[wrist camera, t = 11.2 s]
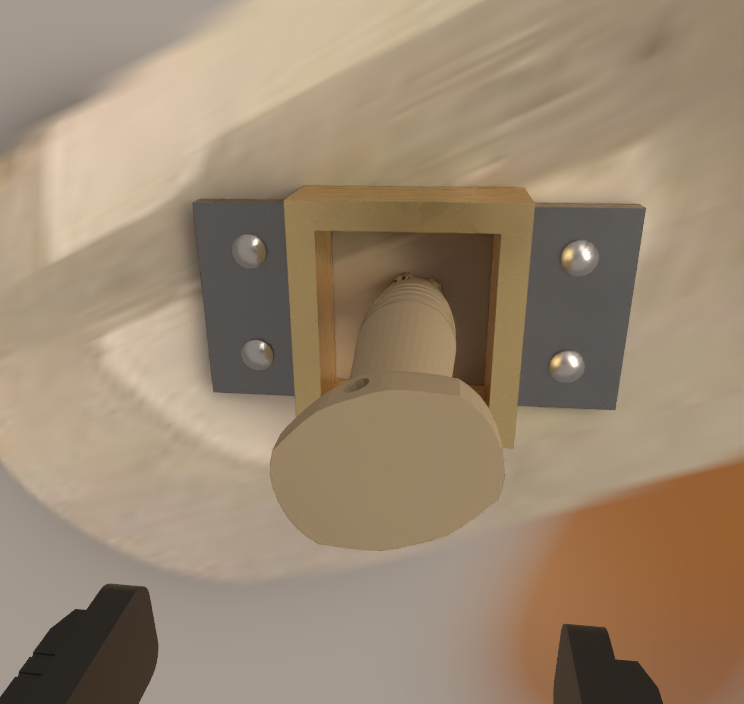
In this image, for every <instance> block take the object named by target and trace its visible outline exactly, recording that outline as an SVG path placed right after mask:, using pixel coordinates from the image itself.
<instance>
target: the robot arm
mask: <svg viewBox="0 0 744 704" xmlns="http://www.w3.org/2000/svg"><path fill="white" fill-rule="evenodd" d="M157 658H158V639H157V634H156V629H155V623H154V617H153V612H152V606H151V601H150V595H149V592H148V590H147V588H146V587H143V586H130V585H119V584H106V585H105V586H103V587H102V589H101V590H100V591H99V593H98V594H97V595H96V597H95V598H94V600H93V601H92V603H91V604H90V605H89V607H88V608H87V610H79V609H75V610H74V611H72V612H71V613H70V614H69V615H67V616H66V617H65V618H63V619H62V620H61V621H60V622H58V623H57V624H56V625H55V626H53V627H52V628H51V629H50V630H49V632H48V633H47V634H46V635H45V637H44V638H43V640H42V641H41V642H40V644H39V645H38V646H37V648H36V649H35V651H34V652H33V656H32V657H29V659H28V660H27V661H26V663H25V664H24V666H23V667H22V668H21V670H20V671H19V675H18V677H15V678H14V679H13V680H12V682H11V683H10V685H9V686H8V687H7V689H6V690H5V691H4V693H3V694H2V695H1V697H0V704H139V702H140V700H141V698H142V696H143V694H144V692H145V690H146V688H147V686H148V684H149V682H150V680H151V678H152V676H153V673H154V670H155V667H156V663H157ZM553 697H554V698H553V700H554V704H663V702H662V699H661V695H660V692H659V689H658V687H657V686H656V685H655V683H654V682H653V681H652V679H651V678H650V677H649V676H648V674H647V673H646V672H645V670H644V669H643V668H642V667H641V665H640V664H639V663H638V662H637V661H626V660H615V656H614V653H613V649H612V645H611V642H610V638H609V634H608V632H607V630H606V628H605V627H595V626H583V625H572V624H563V626H562V630H561V636H560V643H559V650H558V658H557V665H556V672H555V680H554V692H553Z"/></svg>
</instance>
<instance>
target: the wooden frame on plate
mask: <svg viewBox="0 0 744 704" xmlns="http://www.w3.org/2000/svg"><path fill="white" fill-rule="evenodd" d="M193 211H194V220H195V229H196V238H197V247H198V256H199V265H200V275H201V284H202V293H203V302H204V311H205V320H206V329H207V338H208V347H209V356H210V365H211V374H212V384H213V392H221V393H243V394H266V395H288V396H295V406H296V417H297V416H298V415H300V414H301V413H302V412H303V411H304V410H305V409H306V408H307V407H308V406H309V405H311V404H312V403H313V402H314V401H315V400H317V399H318V398H319V397H321V396H322V395H323V394H325V393H326V392H328V391H330V390H332V389H333V388H335V387H337V386H339V385H340V384H342V383H344V382H346V381H348V380H343V379H336V362H335V329H334V296H333V263H332V231H366V232H424V233H482V234H494V241H493V256H492V271H491V287H490V302H489V318H488V333H487V348H486V364H485V379H484V385H469V386H470V387H471V388H472V389H473V390H474V391H475V392H476V393H477V394H479V395H480V397H481V398H482V399H483V401H484V402H485V404H486V405H487V407H488V408H489V410H490V412H491V414H492V416H493V418H494V421H495V423H496V425H497V428H498V432H499V436H500V440H501V444H502V448H510V449H514V438H515V427H516V415H517V406H535V407H557V408H580V409H602V410H615V408H616V401H617V395H618V388H619V382H620V375H621V369H622V362H623V355H624V349H625V342H626V336H627V329H628V323H629V316H630V309H631V303H632V296H633V290H634V283H635V276H636V270H637V263H638V257H639V250H640V244H641V237H642V230H643V224H644V217H645V211H646V208H645V207H643V206H642V205H640V204H582V203H534V201H533V200H532V198H531V197H530V195H529V194H528V192H527V191H526V189H525V188H484V187H384V186H303V187H302V188H300V189H299V190H298V191H296V192H295V193H293V194H292V195H291V196H289V197H288V198H286V199H285V200H257V199H199V200H197V201H195V202H193Z"/></svg>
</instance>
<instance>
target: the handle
mask: <svg viewBox="0 0 744 704" xmlns="http://www.w3.org/2000/svg"><path fill="white" fill-rule="evenodd" d="M441 291H442V288H441V285H440V283H439V282H438V281H437V280H436V279H434V278H430V279H423V278H418V277H415V276H413V275H411V274H410V273H409V272H407V273H402V274H400V275H398V276H397V277H395V278H394V280H393V283H392V284H391V285H390V286H388V287H387V288H386V289H385V290H384V291H383V292H381V294H380V295H379V296H378V297H377V298H376V300H375V301H374V302H373V304H372V306H371V307H370V309H369V311H368V313H367V314H366V316H365V318H364V321H363V324H362V326H361V329H360V332H359V335H358V338H357V344H356V349H355V355H354V360H353V366H352V371H351V376H350V380H348V381H346V382H344V383H342V384H340V385H339V386H337V387H335V388H333V389H332V390H330V391H328V392H326V393H325V394H323V395H322V396H321V397H319V398H318V399H317V400H315V401H314V402H313V403H312V404H311V405H309V406H308V407H307V408H306V409H305V410H304V411H303V412H302V413H301V414H300V415H298V416H297V417H296V418H295V419H294V420H293V421H292V422H291V423H290V424H289V425H288V426H287V427H286V429H285V430H284V431H283V432H282V433H281V434H280V436H279V438H278V440H277V442H276V444H275V446H274V448H273V450H272V455H271V460H270V477H271V482H272V487H273V490H274V492H275V495H276V497H277V500H278V502H279V504H280V506H281V508H282V509H283V511H284V512H285V514H286V516H287V517H288V519H289V520H290V521H291V522H292V523H293V524H294V526H295V527H296V528H297V529H298V530H299V531H301V532H302V533H303V534H304V535H305V536H307V537H308V538H310V539H311V540H313V541H314V542H316V543H318V544H322V545H329V546H335V547H342V548H350V549H358V550H369V551H384V550H391V549H398V548H402V547H406V546H411V545H415V544H419V543H423V542H427V541H432V540H435V539H438V538H441V537H444V536H447V535H449V534H450V533H452V532H454V531H456V530H458V529H459V528H461V527H463V526H464V525H465V524H467V523H468V522H469V521H471V520H472V519H474V518H475V517H476V516H478V515H479V514H480V513H482V512H483V511H484V510H485V509H487V508H488V507H489V506H491V505H492V504H493V503H495V502H496V501H497V500H498V499H499V496H500V494H501V491H502V488H503V483H504V478H505V468H504V456H503V450H502V444H501V440H500V436H499V432H498V428H497V425H496V423H495V421H494V418H493V416H492V414H491V412H490V410H489V408H488V407H487V405H486V404H485V402H484V401H483V399H482V398H481V397H480V395H479V394H477V393H476V392H475V391H474V390H473V389H472V388H471V387H470V386H469V385H467V384H466V383H464V382H463V381H461V380H460V379H458V378H453V377H452V375H453V368H454V362H455V355H456V330H455V323H454V319H453V315H452V311H451V309H450V306H449V304H448V302H447V300H446V299H445V297H444V296H443V294H442V292H441Z"/></svg>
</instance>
